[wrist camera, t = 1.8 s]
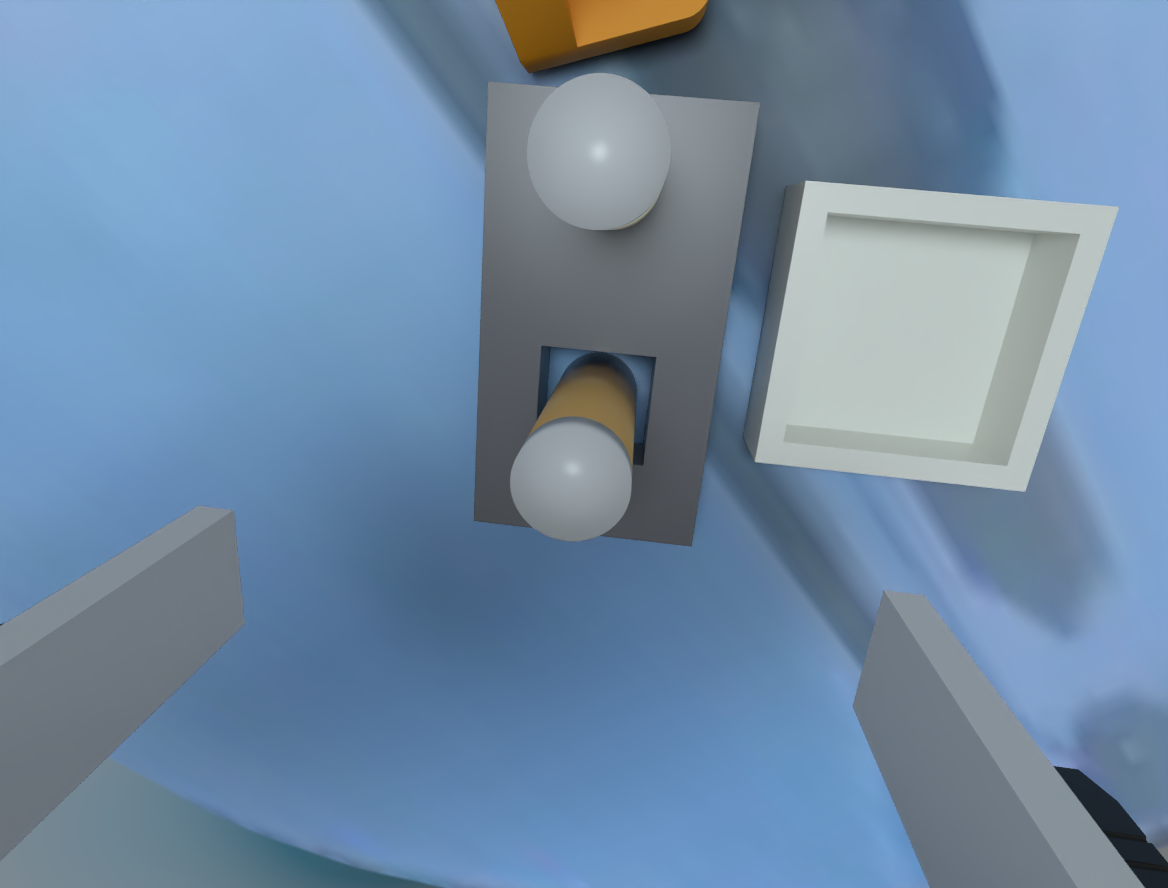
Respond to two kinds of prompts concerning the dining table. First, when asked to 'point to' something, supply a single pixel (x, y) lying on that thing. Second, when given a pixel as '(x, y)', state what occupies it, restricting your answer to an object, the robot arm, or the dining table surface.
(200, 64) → the dining table surface
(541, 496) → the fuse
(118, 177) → the dining table surface
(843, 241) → the parts tray
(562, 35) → the bracket
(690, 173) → the fuse block
